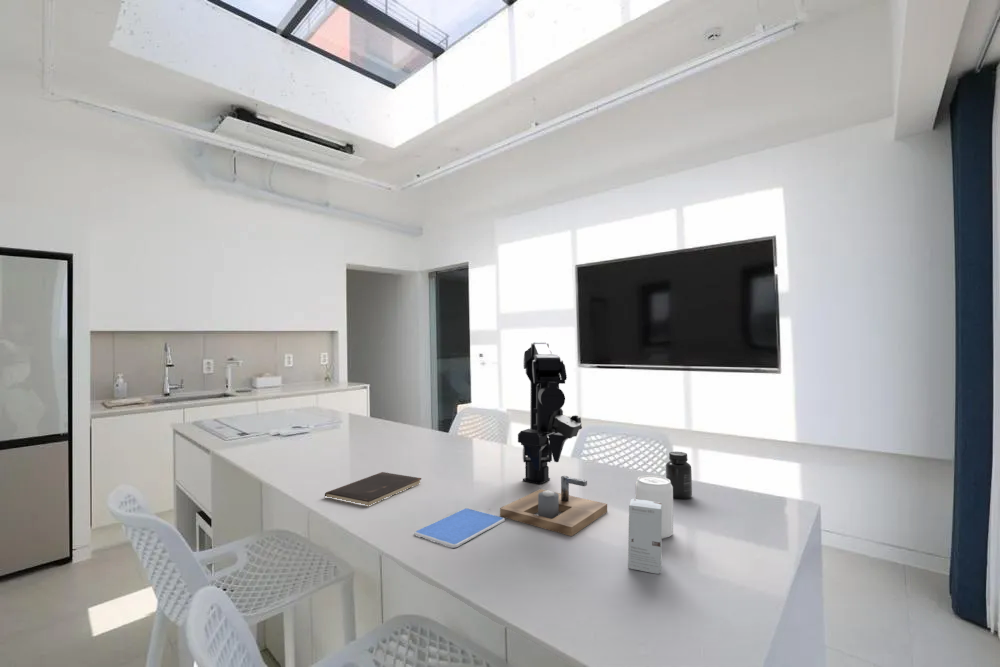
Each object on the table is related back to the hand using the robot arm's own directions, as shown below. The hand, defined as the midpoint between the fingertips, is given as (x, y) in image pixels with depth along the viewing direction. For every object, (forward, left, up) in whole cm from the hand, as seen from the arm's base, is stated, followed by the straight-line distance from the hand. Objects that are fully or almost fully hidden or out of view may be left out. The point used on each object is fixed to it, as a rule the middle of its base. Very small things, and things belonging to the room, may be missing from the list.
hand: (547, 465), depth 118 cm
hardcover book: (-49, -15, -13) cm, 53 cm away
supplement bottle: (+23, +34, -12) cm, 42 cm away
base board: (+2, 0, -12) cm, 12 cm away
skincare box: (+30, -13, -12) cm, 35 cm away
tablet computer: (-11, -20, -13) cm, 26 cm away
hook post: (+5, +6, -10) cm, 12 cm away
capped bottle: (+2, -3, -12) cm, 12 cm away
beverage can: (+26, +4, -12) cm, 29 cm away
